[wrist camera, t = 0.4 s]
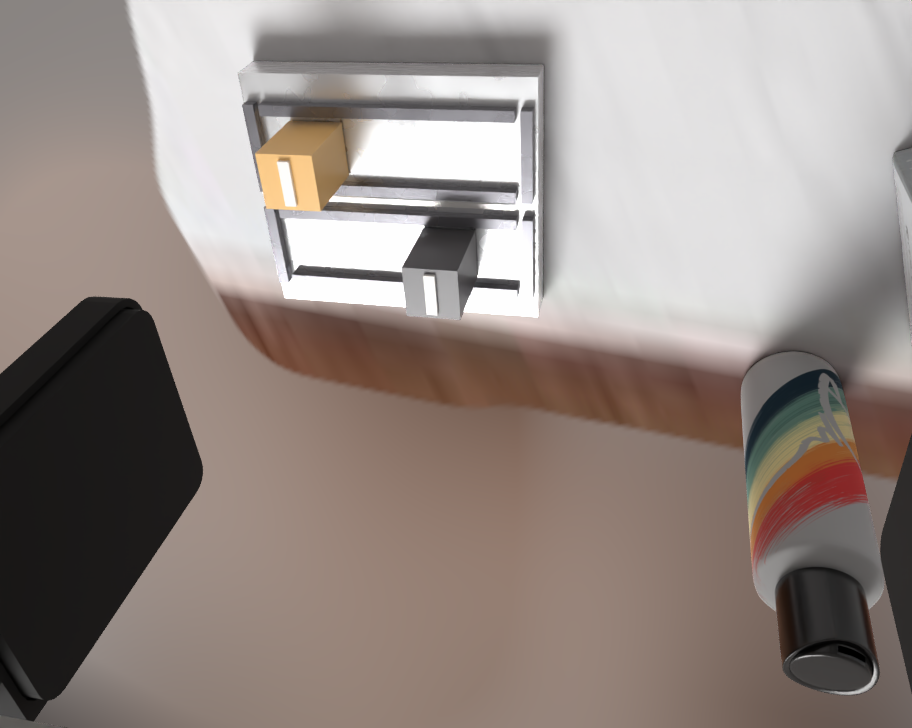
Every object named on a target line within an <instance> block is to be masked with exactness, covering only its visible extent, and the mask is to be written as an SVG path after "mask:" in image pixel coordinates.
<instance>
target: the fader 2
mask: <svg viewBox="0 0 912 728" xmlns="http://www.w3.org/2000/svg"><path fill="white" fill-rule="evenodd" d="M401 269H402V278H403V287H404V296H405V305H406V314H407V316H417V317H430V318H442V319H455V320H461V317H462V315H463V312H464V310H465V307H466V305H467V302H468V300H469V297H470V295H471V292H472V290H473V287H474V285H475V282H476V280H477V258H476V237H475V231H472V230H454V229H436V228H423V229H422V231H421V233H420V235H419V236H418V238H417V240H416V242H415V244H414V246H413V247H412V249H411V251H410V253H409V255H408V256H407V258H406V260H405V262H404V264H403V266H402V267H401Z"/></svg>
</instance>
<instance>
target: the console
mask: <svg viewBox="0 0 912 728" xmlns="http://www.w3.org/2000/svg"><path fill="white" fill-rule="evenodd" d="M238 78H239V82H240V87H241V92H242V97H243V101H244V104H243V105H242V107H243V111H244V116H245V121H246V126H247V130H248V135H249V140H250V144H251V149H252V154H253V159H254V163H255V168H256V173H257V178H258V182H259V187H260V192H263V190H262V185H261V180H260V176H259V171H258V166H257V161H256V156H255V153H256V152H257V151H258V150H259V149H260V148H261V147H262V146H263V145H264V144H266V143H267V142H268V141H269V140H270V139H271V138H272V137H273V136H274V135H275V134H276V133H277V132H278V131H279V130H280V129H281V128H282V127H283V126H284V125H285V124H286V123H287V122H288V121H312V122H342V129H343V136H344V143H345V150H346V157H347V164H348V171H349V176H348V177H347V178H346V180H345V181H344V182H343V184H342V185H341V186H340V187H339V189H338V190H337V191H336V193H335V194H334V195H333V196H332V198H331V199H330V200H329V202H328V203H327V204H326V205H325V207H324V208H323V209H322V211H321V212H320V211H300V210H281V209H266V204H265V207H264V211H265V215H266V220H267V225H268V230H269V234H270V239H271V244H272V248H273V253H274V258H275V263H276V267H277V272H278V277H279V282H281V283H282V287H283V292H284V297H285V298H293V299H306V300H319V301H333V302H346V303H359V304H372V305H385V306H398V307H406V305H405V296H404V287H403V278H402V269H401V267H402V266H403V264H404V262H405V260H406V258H407V256H408V255H409V253H410V251H411V249H412V247H413V246H414V244H415V242H416V240H417V238H418V236H419V235H420V233H421V231H422V229H423V228H436V229H454V230H472V231H475V237H476V258H477V280H476V282H475V285H474V287H473V290H472V292H471V295H470V297H469V300H468V302H467V305H466V307H465V310H464V312H477V313H491V314H504V315H517V316H530V317H538V315H539V311H540V307H541V304H542V300H543V137H544V65H539V64H451V63H362V62H274V61H253V62H251V63H250V64H249V65H247V66H246V67H245V68H243V69H242V70H241V71H239V72H238ZM263 197H264V195H263ZM264 201H265V199H264Z"/></svg>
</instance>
